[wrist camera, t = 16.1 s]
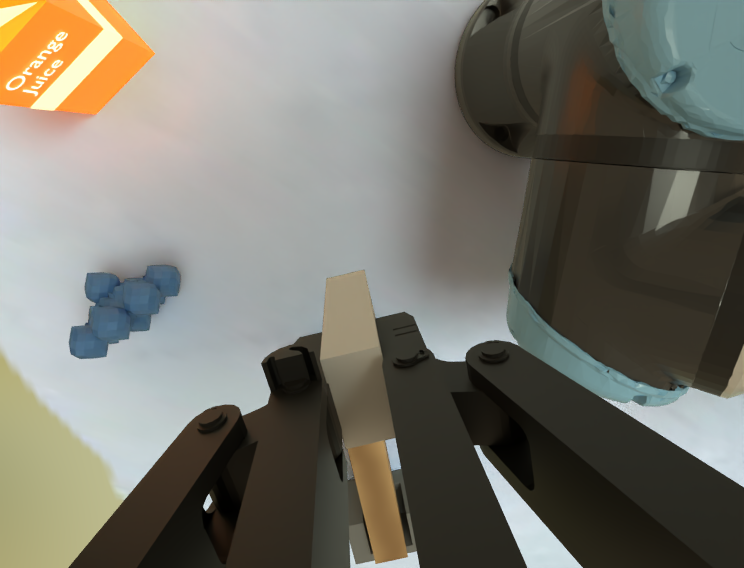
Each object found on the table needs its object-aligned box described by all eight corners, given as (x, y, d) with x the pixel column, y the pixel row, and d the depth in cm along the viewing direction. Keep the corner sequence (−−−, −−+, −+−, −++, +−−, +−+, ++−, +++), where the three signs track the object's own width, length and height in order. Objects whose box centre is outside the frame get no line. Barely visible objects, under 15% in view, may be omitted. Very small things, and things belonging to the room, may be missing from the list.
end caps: (385, 321, 46) (393, 349, 40) (419, 501, 54) (430, 548, 48) (307, 337, 46) (302, 367, 40) (353, 515, 54) (356, 564, 48)
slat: (366, 350, 45) (371, 381, 39) (399, 511, 52) (407, 557, 46) (333, 357, 45) (332, 388, 39) (371, 517, 52) (375, 563, 46)
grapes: (164, 217, 41) (99, 246, 29) (216, 270, 43) (173, 317, 31) (78, 291, 42) (-16, 346, 31) (132, 339, 44) (62, 407, 33)
